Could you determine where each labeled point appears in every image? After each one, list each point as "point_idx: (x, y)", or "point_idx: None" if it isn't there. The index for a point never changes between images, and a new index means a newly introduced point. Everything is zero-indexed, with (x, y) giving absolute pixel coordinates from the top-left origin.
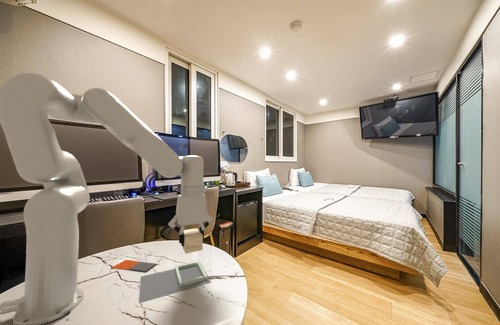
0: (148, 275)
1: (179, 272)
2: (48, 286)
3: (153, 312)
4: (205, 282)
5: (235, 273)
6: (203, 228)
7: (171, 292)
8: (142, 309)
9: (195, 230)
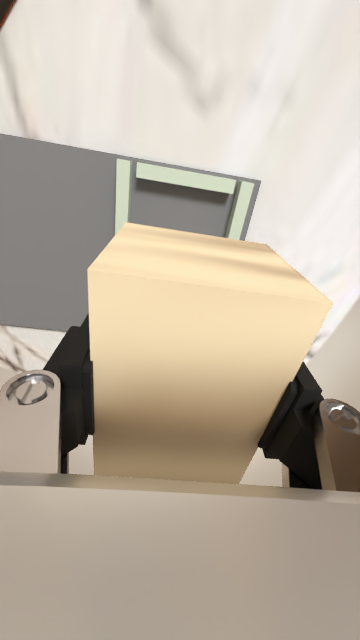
0: None
1: (134, 214)
2: None
3: (40, 364)
4: None
5: None
6: (304, 483)
7: None
8: (8, 341)
9: (255, 371)
